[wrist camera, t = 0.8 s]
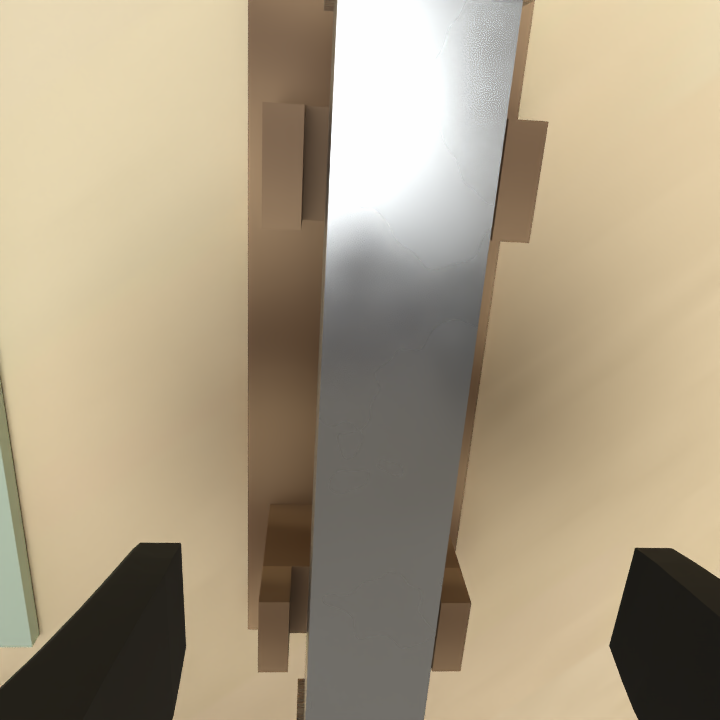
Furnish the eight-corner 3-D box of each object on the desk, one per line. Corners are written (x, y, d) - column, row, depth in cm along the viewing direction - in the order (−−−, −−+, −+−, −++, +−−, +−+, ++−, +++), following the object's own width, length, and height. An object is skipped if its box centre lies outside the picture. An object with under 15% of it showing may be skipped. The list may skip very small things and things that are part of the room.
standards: (439, 613, 24) (472, 742, 19) (250, 612, 23) (232, 745, 18) (524, 5, 16) (611, -39, 12) (251, -18, 16) (223, -76, 11)
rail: (406, 692, 20) (424, 802, 17) (297, 693, 19) (293, 805, 16) (492, -10, 13) (549, -48, 10) (324, -24, 13) (327, -70, 9)
